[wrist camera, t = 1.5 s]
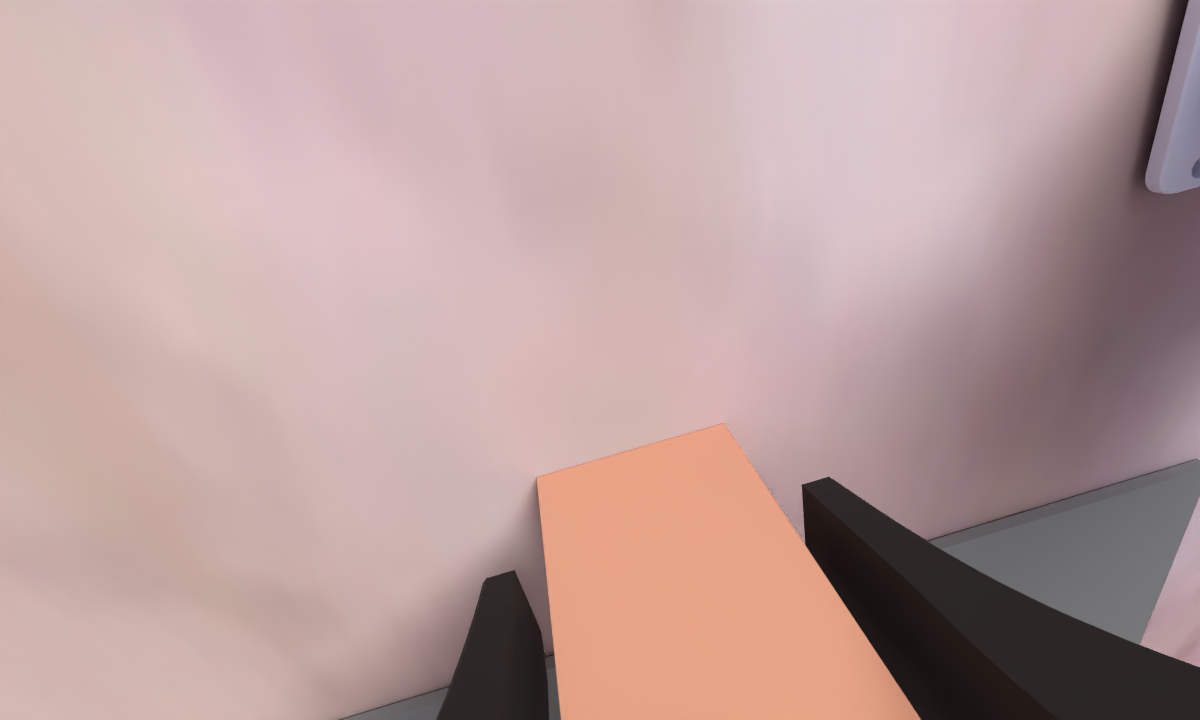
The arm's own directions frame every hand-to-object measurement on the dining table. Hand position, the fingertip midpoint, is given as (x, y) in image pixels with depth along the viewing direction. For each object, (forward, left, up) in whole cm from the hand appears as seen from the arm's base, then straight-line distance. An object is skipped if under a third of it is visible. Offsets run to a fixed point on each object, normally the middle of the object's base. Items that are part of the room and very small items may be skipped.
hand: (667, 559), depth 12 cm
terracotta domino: (0, 0, -3) cm, 3 cm away
